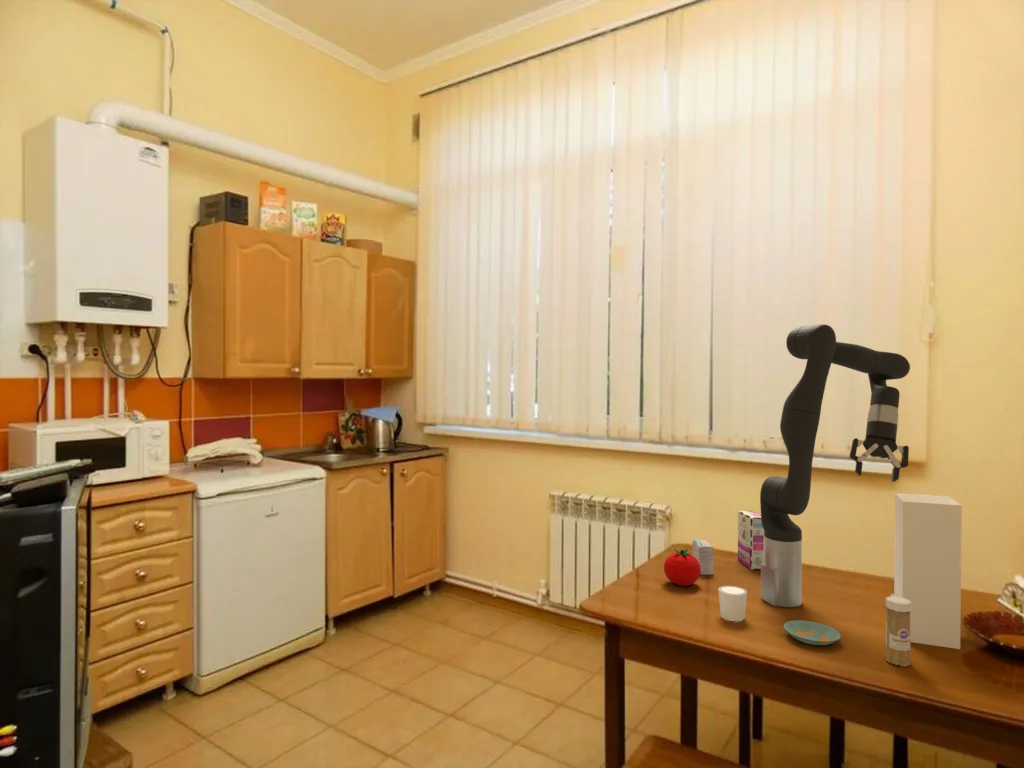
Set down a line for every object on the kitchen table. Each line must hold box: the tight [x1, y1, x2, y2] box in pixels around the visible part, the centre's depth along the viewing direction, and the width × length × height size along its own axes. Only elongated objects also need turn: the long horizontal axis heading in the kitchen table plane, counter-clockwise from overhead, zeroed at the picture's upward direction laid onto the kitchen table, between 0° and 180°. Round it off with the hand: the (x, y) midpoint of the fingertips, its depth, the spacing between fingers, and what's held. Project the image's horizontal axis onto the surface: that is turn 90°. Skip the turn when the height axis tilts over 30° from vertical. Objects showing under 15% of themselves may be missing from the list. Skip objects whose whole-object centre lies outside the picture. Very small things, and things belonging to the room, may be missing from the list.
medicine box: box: [691, 539, 715, 576], centre depth 191 cm, size 8×4×9 cm, turn 179°
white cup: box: [717, 585, 748, 622], centre depth 155 cm, size 7×7×7 cm
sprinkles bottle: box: [885, 595, 911, 667], centre depth 131 cm, size 5×5×14 cm
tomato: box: [663, 548, 701, 587], centre depth 179 cm, size 10×10×10 cm
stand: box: [893, 492, 963, 650], centre depth 144 cm, size 11×11×32 cm
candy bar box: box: [737, 510, 764, 571], centre depth 197 cm, size 11×5×16 cm, turn 1°
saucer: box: [783, 619, 842, 646], centre depth 143 cm, size 12×12×2 cm
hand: (876, 478), depth 175 cm, fingers open, 8 cm apart
